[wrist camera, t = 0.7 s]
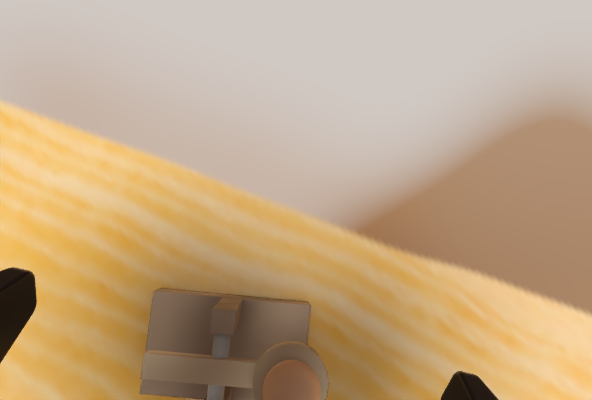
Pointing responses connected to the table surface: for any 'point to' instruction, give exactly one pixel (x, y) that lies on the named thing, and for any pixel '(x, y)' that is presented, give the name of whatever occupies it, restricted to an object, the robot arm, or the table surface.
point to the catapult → (230, 348)
